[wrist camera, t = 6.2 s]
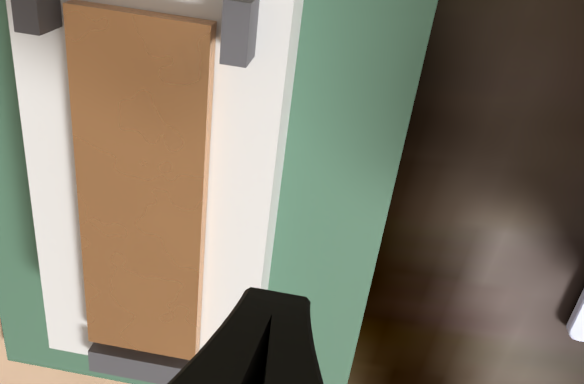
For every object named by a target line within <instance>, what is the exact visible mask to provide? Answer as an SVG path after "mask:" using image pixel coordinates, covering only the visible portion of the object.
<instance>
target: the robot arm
mask: <svg viewBox="0 0 584 384" xmlns="http://www.w3.org/2000/svg"><path fill="white" fill-rule="evenodd" d="M310 304H311V302H310V301H309V299H308V298H307V297H305V296H299V295H293V294H288V293H282V292H277V291H271V290H265V289H260V288H254V287H250V288H248V289H246V290H245V291H244V293H243V295H242V297H241V298H240V300H239V301H238V303H237V304H236V306H235V307H234V308H233V310H232V311H231V313H230V314H229V315H228V317H227V318H226V319H225V320H224V322H223V323H222V324H221V326H220V327H219V328H218V329H217V330H216V332H215V333H214V334H213V335H212V336H211V338H210V339H209V340H208V341H207V342H206V343H205V345H204V346H203V347H202V348H201V349H200V350H199V351H198V353H197V354H196V355H195V356H194V357H193V358H192V359H191V360H190V361H189V362H188V363H187V364H186V365H185V366H184V367H183V368H182V369H181V370H180V371H179V372H178V373H177V374H176V375H175V376H174V377H173V378H172V379H171V380H170V381H169V382H168V383H167V384H324V383H323V379H322V376H321V372H320V367H319V363H318V359H317V355H316V351H315V346H314V340H313V334H312V327H311V317H310ZM566 329H567V331H568V334H569V336H570V337H571V338H572V339H574V340H577V341H582V342H584V289H583V291H582V293H581V295H580V297H579V299H578V302H577V304H576V306H575V308H574V310H573V312H572V314H571V316H570V318H569V321H568V323H567V326H566Z"/></svg>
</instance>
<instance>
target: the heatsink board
mask: <svg viewBox="0 0 584 384" xmlns="http://www.w3.org/2000/svg"><path fill="white" fill-rule="evenodd" d="M67 1H70V0H0V318H1V324H2V330H3V335H4V341H5V346H6V352H7V358H8V360H10V361H16V362H21V363H26V364H31V365H37V366H42V367H47V368H52V369H58V370H63V371H68V372H73V373H78V374H84V375H89V376H94V377H99V378H105V379H110V380H115V381H120V382H126V383H131V384H167V383H168V382H169V381H170V380H171V379H172V378H173V377H174V376H175V375H176V374H177V373H178V372H179V371H180V370H181V369H182V368H183V367H184V366H185V365H186V364H187V363H188V362H189V361H190V360H186V359H181V358H175V357H170V356H165V355H159V354H154V353H149V352H143V351H138V350H133V349H127V348H122V347H117V346H111V345H106V344H101V343H95V342H90V341H88V328H87V315H86V302H85V289H84V276H83V263H82V250H81V237H80V224H79V211H78V198H77V185H76V172H75V159H74V146H73V133H72V120H71V107H70V94H69V81H68V68H67V55H66V42H65V29H64V16H63V3H64V2H67ZM81 1H88V2H94V3H101V4H108V5H114V6H121V7H127V8H134V9H141V10H147V11H154V12H160V13H167V14H174V15H180V16H187V17H193V18H200V19H207V20H213V21H217V26H216V45H215V64H214V83H213V102H212V121H211V140H210V159H209V178H208V197H207V216H206V234H205V253H204V272H203V291H202V310H201V329H200V348H199V350H200V349H201V348H202V347H203V346H204V345H205V343H206V342H207V341H208V340H209V339H210V338H211V336H212V335H213V334H214V333H215V332H216V330H217V329H218V328H219V327H220V326H221V324H222V323H223V322H224V320H225V319H226V318H227V317H228V315H229V314H230V313H231V311H232V310H233V308H234V307H235V306H236V304H237V303H238V301H239V300H240V298H241V297H242V295H243V293H244V291H245V290H246V289H248V288H250V287H254V288H260V289H265V290H271V291H277V292H282V293H288V294H293V295H299V296H305V297H307V298H308V299H309V301H310V302H311V304H310V317H311V327H312V334H313V340H314V346H315V351H316V355H317V359H318V363H319V367H320V372H321V376H322V379H323V383H324V384H347V383H348V378H349V374H350V370H351V366H352V361H353V357H354V353H355V349H356V345H357V340H358V336H359V332H360V328H361V323H362V319H363V315H364V311H365V307H366V302H367V298H368V294H369V290H370V285H371V281H372V277H373V273H374V269H375V264H376V260H377V256H378V252H379V247H380V243H381V239H382V235H383V231H384V226H385V222H386V218H387V214H388V209H389V205H390V201H391V197H392V193H393V188H394V184H395V180H396V176H397V171H398V167H399V163H400V159H401V155H402V150H403V146H404V142H405V138H406V133H407V129H408V125H409V121H410V117H411V112H412V108H413V104H414V100H415V95H416V91H417V87H418V83H419V79H420V74H421V70H422V66H423V62H424V57H425V53H426V49H427V45H428V41H429V36H430V32H431V28H432V24H433V19H434V15H435V11H436V7H437V3H438V0H81Z"/></svg>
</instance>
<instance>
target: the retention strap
mask: <svg viewBox="0 0 584 384" xmlns="http://www.w3.org/2000/svg"><path fill="white" fill-rule="evenodd" d="M63 16H64V29H65V42H66V55H67V68H68V81H69V94H70V107H71V120H72V133H73V146H74V159H75V172H76V185H77V198H78V211H79V224H80V237H81V250H82V263H83V276H84V289H85V302H86V315H87V328H88V341H90V342H95V343H101V344H106V345H111V346H117V347H122V348H127V349H133V350H138V351H143V352H149V353H154V354H159V355H165V356H170V357H175V358H181V359H186V360H191V359H192V358H193V357H194V356H195V355H196V354H197V353H198V351H199V348H200V329H201V310H202V291H203V272H204V253H205V234H206V216H207V197H208V178H209V159H210V140H211V121H212V102H213V83H214V64H215V45H216V26H217V21H213V20H207V19H200V18H193V17H187V16H180V15H174V14H167V13H160V12H154V11H147V10H141V9H134V8H127V7H121V6H114V5H108V4H101V3H94V2H88V1H81V0H70V1H67V2H64V3H63Z"/></svg>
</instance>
